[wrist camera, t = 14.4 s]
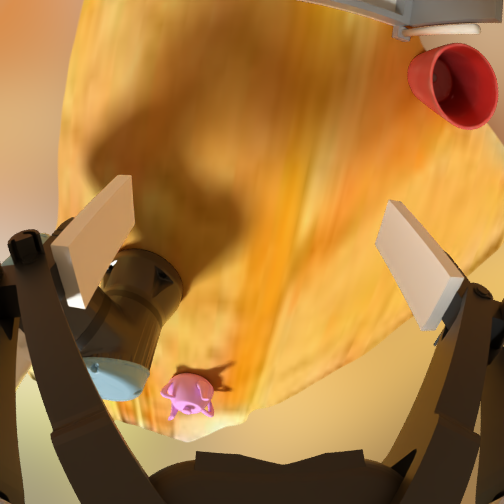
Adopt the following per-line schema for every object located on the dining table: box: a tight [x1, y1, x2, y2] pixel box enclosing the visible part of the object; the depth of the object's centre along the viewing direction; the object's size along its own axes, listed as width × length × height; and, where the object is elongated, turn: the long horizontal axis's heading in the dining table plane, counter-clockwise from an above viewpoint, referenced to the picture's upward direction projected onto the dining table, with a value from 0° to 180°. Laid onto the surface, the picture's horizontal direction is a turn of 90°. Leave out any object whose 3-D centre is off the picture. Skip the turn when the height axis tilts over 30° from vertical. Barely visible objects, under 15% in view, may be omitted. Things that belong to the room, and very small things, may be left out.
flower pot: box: [408, 43, 498, 130], centre depth 29 cm, size 11×11×10 cm
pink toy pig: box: [161, 373, 214, 420], centre depth 70 cm, size 12×14×9 cm
